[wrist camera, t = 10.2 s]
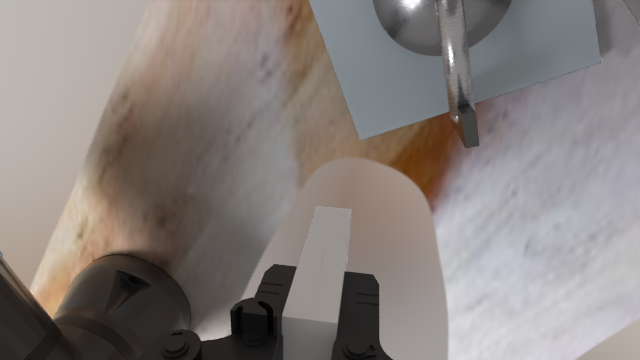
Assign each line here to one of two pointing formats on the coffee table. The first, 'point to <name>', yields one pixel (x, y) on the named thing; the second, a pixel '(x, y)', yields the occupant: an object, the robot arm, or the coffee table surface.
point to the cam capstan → (445, 44)
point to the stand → (427, 71)
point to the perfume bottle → (634, 8)
